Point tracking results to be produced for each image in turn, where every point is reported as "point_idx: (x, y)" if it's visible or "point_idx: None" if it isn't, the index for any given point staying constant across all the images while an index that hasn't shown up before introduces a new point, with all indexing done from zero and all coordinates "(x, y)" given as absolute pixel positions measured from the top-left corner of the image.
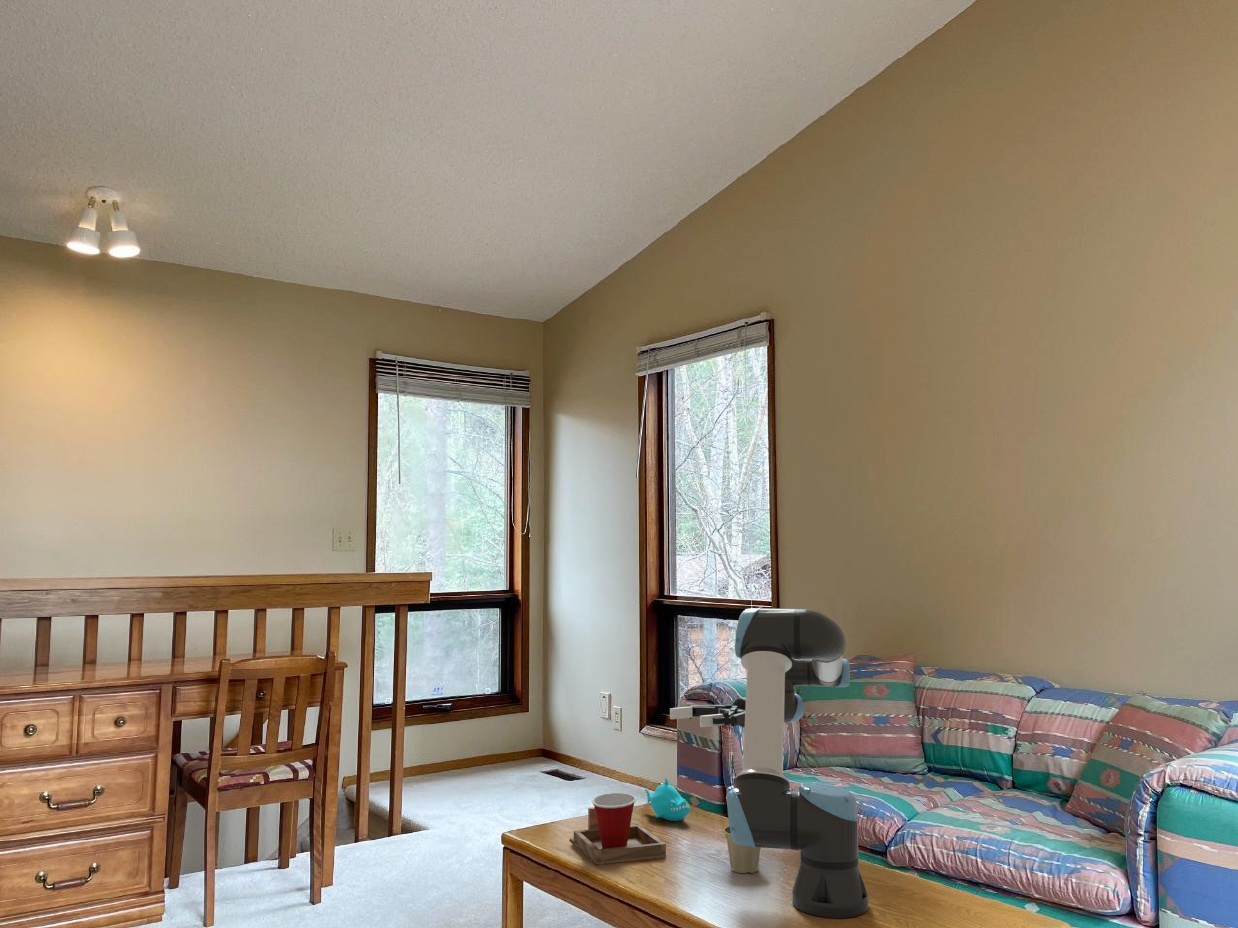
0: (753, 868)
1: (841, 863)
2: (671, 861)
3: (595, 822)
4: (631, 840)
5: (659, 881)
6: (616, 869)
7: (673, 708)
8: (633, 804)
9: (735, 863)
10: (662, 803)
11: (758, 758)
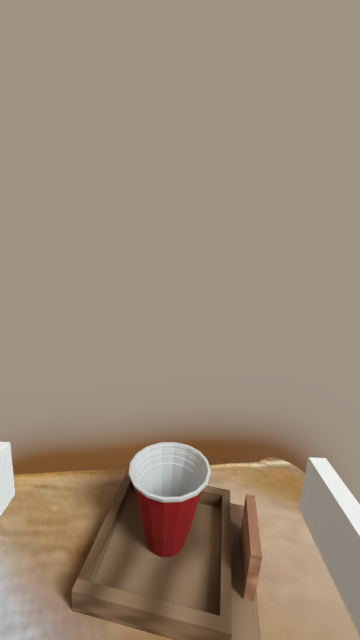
0: None
1: None
2: (44, 601)
3: (243, 524)
4: (195, 599)
5: (6, 516)
6: (92, 495)
7: (322, 471)
8: (140, 493)
9: None
10: None
11: None
